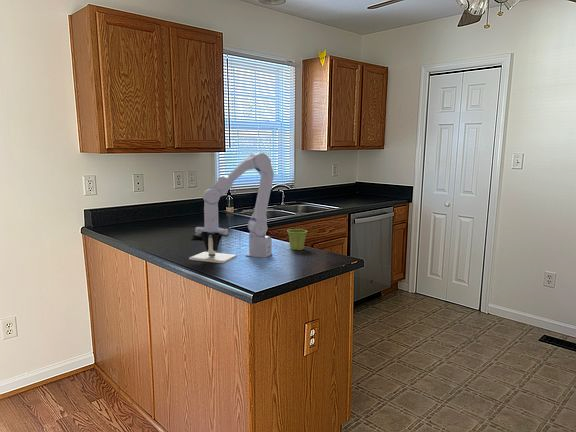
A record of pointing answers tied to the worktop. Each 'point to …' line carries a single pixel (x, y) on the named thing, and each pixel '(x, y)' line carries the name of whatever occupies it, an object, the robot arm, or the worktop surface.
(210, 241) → the marker
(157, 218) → the worktop surface
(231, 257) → the notepad
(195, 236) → the door handle
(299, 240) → the plant pot
